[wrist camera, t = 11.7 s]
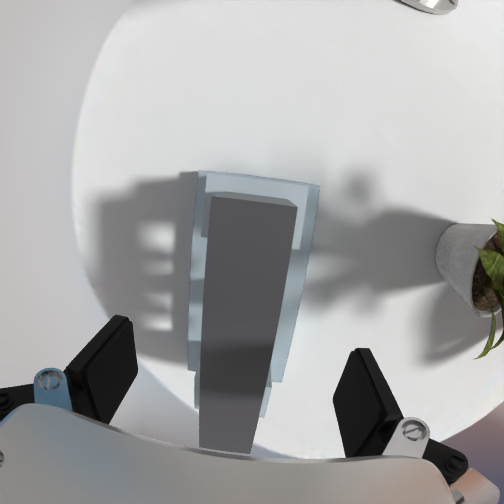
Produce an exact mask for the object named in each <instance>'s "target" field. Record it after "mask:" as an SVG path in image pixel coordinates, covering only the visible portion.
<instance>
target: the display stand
mask: <svg viewBox="0 0 504 504" xmlns="http://www.w3.org/2000/svg"><path fill="white" fill-rule="evenodd" d="M319 191H320V185H314V184H308V183H302V182H295V181H289V180H282V179H274V178H267V177H259V176H251V175H242V174H233V173H223V172H213V171H201V170H199V173H198V182H197V191H196V202H195V212H194V224H193V237H192V251H191V268H190V288H189V316H188V370H190V371H196V374H195V387H194V396H195V409H199V394H200V353H201V329H202V309H203V292H204V277H205V263H206V250H207V238H208V227H209V217H210V206H211V197H212V196H214V195H217V194H220V193H223V192H235V193H244V194H252V195H260V196H268V197H275V198H283V199H288V200H289V201H291V202H292V203H293V204H295V205H296V206H297V207H298V210H297V216H296V223H295V230H294V236H293V243H292V249H291V255H290V261H289V267H288V273H287V279H286V285H285V290H284V296H283V302H282V307H281V313H280V318H279V323H278V328H277V334H276V339H275V344H274V349H273V354H272V359H271V364H270V368H269V373H268V378H267V383H266V387H265V392H264V396H263V401H262V405H261V410H260V414H259V417H262V418H264V417H265V413H266V409H267V405H268V401H269V396H270V392H271V388H272V384H271V382H282V379H283V375H284V371H285V367H286V363H287V359H288V355H289V351H290V346H291V342H292V338H293V333H294V329H295V324H296V320H297V315H298V310H299V306H300V301H301V296H302V291H303V286H304V281H305V275H306V270H307V265H308V259H309V254H310V248H311V242H312V236H313V230H314V224H315V218H316V212H317V205H318V198H319Z"/></svg>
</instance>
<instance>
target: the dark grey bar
mask: <svg viewBox="0 0 504 504" xmlns="http://www.w3.org/2000/svg"><path fill="white" fill-rule="evenodd" d="M297 210H298V207H297V206H296V205H295V204H293V203H292V202H291V201H289V200H288V199H283V198H275V197H268V196H260V195H252V194H244V193H235V192H223V193H220V194H217V195H214V196H212V197H211V206H210V217H209V227H208V238H207V250H206V263H205V277H204V292H203V309H202V329H201V353H200V394H199V444H200V447H203V448H208V449H215V450H221V451H229V452H238V453H247V454H250V451H251V448H252V444H253V440H254V435H255V431H256V427H257V423H258V418H259V414H260V410H261V405H262V401H263V396H264V392H265V387H266V383H267V378H268V373H269V368H270V364H271V359H272V354H273V349H274V344H275V339H276V334H277V328H278V323H279V318H280V313H281V307H282V302H283V296H284V290H285V285H286V279H287V273H288V267H289V261H290V255H291V249H292V243H293V236H294V230H295V223H296V216H297Z"/></svg>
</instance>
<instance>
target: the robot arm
mask: <svg viewBox="0 0 504 504" xmlns="http://www.w3.org/2000/svg"><path fill="white" fill-rule="evenodd" d="M401 1H402V2H404V3H406V4H408V5H411V6H413V7H415V8H417V9H420V10H423V11H425V12H429V13H433V14H441V15H443V14H448V13H450V12H451V11H453V10H454V9H455V8H456V7H457V5H458V0H401ZM137 373H138V365H137V358H136V350H135V342H134V333H133V324H132V322H131V321H129V318H128V317H125V316H120V315H114V316H113V317H112V319H111V320H110V321H109V322H108V323H107V324H106V325H105V326H104V327H103V328H102V329H101V330H100V331H99V332H98V333H97V334H96V335H95V336H94V337H93V339H92V340H91V341H90V342H89V343H88V344H87V345H86V346H85V347H84V348H83V349H82V351H80V353H79V354H78V355H77V356H76V357H75V358H74V359H73V360H72V361H71V363H70V364H69V365H68V366H67V367H66V369H65V370H64V371H63V372H62V371H61V370H59V369H56V368H46V369H43V370H41V371H40V372H38V373H37V374H36V376H35V377H34V383H33V384H27V385H21V386H15V387H8V388H1V389H0V504H497V503H498V501H499V498H500V492H499V489H498V488H497V487H496V486H495V485H494V484H493V483H491V482H490V481H489V480H487V479H486V478H485V477H484V476H482V475H481V474H480V473H478V472H477V471H476V470H475V469H473V468H471V469H470V470H469V469H468V460H467V458H466V457H465V455H464V454H462V453H461V452H459V451H457V450H455V449H452V448H450V447H448V446H445V445H443V444H441V443H439V442H437V441H435V440H432V439H430V438H429V437H430V430H429V427H428V426H427V424H426V423H425V422H424V421H422V420H420V419H418V418H415V417H408V418H404V417H403V415H402V413H401V410H400V408H399V406H398V404H397V402H396V400H395V398H394V396H393V394H392V392H391V390H390V387H389V385H388V383H387V381H386V380H385V378H384V376H383V374H382V372H381V370H380V368H379V366H378V364H377V362H376V360H375V358H374V356H373V354H372V352H371V351H370V349H369V348H356V349H355V350H354V351H351V353H350V355H349V358H348V360H347V363H346V366H345V368H344V371H343V373H342V376H341V378H340V381H339V383H338V386H337V388H336V391H335V393H334V396H333V404H334V408H335V413H336V417H337V421H338V425H339V429H340V434H341V438H342V443H343V447H344V452H345V456H346V458H334V459H276V458H275V459H274V458H260V457H248V456H239V455H231V454H223V453H217V452H211V451H205V450H199V449H194V448H189V447H185V446H180V445H175V444H171V443H167V442H163V441H159V440H155V439H152V438H148V437H145V436H141V435H138V434H135V433H132V432H128V431H125V430H122V429H119V428H116V427H113V426H110V425H109V423H110V421H111V419H112V418H113V416H114V414H115V412H116V410H117V409H118V407H119V405H120V403H121V402H122V400H123V398H124V396H125V395H126V393H127V391H128V390H129V388H130V386H131V384H132V383H133V381H134V379H135V378H136V376H137Z"/></svg>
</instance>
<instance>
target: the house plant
mask: <svg viewBox="0 0 504 504" xmlns="http://www.w3.org/2000/svg"><path fill="white" fill-rule="evenodd" d="M492 220H493V219H492ZM493 222H494V223H495V224H496V225H488V224H460V223H458V224H453V225H452V226H450V227H448V228H447V229H446V230H445V231H444V232H443V234H442V236H441V237H440V239H439V241H438V244H437V248H436V252H435V262H436V267H437V270H438V272H439V273H440V275H441V276H442V277H443V278H444V279H445V280H446V281H447V282H448V283H449V284H450V285H451V286H452V287H453V289H454V290H455V291H456V292H457V293H458V294H459V295H460V296H461V297H462V299H463V300H464V301H465V302H466V303H467V304H468V306H469V307H470V308H471V309H472V310H473V311H474V313H475V314H476V315H477V316H479V317H482V318H487V317H491V316H492V326H491V331H490V335H489V338H488V341H487V343H486V346H485V348H484V350H483V352H482V353H481V354H480V355H479V356H478V357H477V358H475V359H478V358H481V357H483V356H485V355H486V354H487V353H488V352H489V350H491V349H493V348H495V347H497V346H498V345H499V344H500V343H501V342H502V341H503V340H504V329H503V333H502V336H501V337H500V339H499V341H498V342H497V343H496V344H495V345H494V346H493V347H492V344H493V341H494V336H495V324H496V321H495V315H496V314H497V313H499V312H500V311H501V310H502V318H503V328H504V225H503V224H501V223H498V222H496V221H495V220H493ZM491 347H492V348H491ZM472 360H473V359H472Z"/></svg>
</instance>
